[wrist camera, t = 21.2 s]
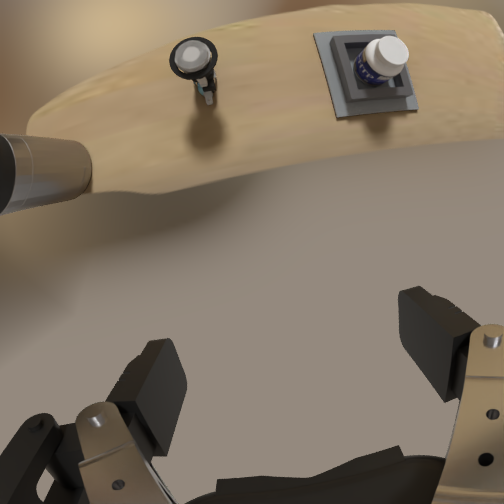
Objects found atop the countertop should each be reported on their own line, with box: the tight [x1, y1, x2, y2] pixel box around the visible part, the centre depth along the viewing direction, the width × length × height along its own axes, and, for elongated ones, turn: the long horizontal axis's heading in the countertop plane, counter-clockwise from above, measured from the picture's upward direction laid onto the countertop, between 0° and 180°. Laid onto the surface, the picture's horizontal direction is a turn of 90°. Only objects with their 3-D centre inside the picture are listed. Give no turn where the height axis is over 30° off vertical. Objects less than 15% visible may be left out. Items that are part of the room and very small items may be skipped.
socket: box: [313, 30, 419, 118], centre depth 36 cm, size 13×13×3 cm
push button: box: [169, 37, 218, 105], centre depth 33 cm, size 7×5×10 cm
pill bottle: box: [353, 36, 409, 86], centre depth 32 cm, size 5×5×9 cm
